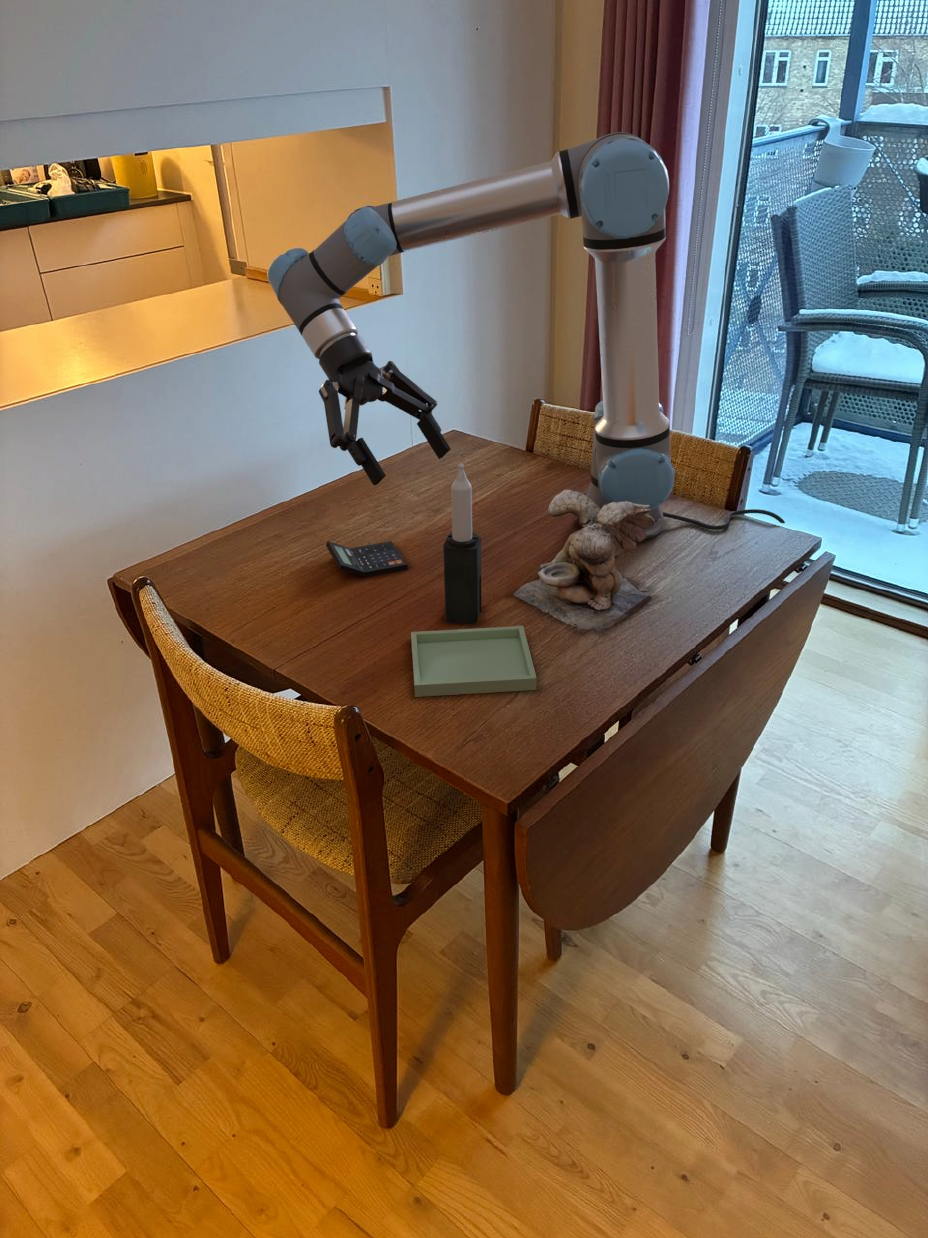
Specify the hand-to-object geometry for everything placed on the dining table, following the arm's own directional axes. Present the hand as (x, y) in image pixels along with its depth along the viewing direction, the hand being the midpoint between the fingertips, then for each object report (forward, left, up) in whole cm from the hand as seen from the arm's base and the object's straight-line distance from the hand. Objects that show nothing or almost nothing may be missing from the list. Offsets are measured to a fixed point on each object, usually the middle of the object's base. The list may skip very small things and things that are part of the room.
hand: (413, 467), depth 143 cm
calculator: (+8, -12, -22) cm, 27 cm away
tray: (-7, +21, -22) cm, 31 cm away
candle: (-7, +7, -22) cm, 24 cm away
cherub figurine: (-26, +3, -22) cm, 34 cm away
